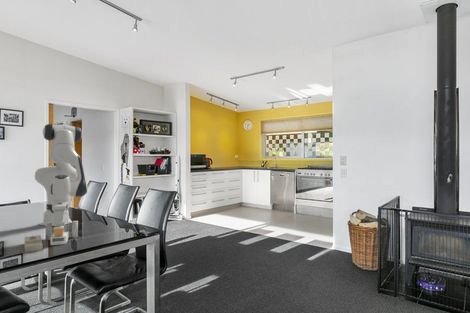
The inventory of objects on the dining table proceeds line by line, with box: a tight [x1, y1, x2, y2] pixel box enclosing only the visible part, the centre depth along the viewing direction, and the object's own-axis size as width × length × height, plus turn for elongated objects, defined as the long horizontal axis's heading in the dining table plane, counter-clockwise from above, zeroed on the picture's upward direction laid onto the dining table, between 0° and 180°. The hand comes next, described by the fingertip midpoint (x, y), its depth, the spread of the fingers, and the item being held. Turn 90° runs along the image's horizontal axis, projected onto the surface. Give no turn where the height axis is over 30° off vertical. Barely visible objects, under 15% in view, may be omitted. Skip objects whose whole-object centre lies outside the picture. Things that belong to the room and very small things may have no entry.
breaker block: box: [49, 230, 70, 246], centre depth 164 cm, size 12×7×4 cm, turn 23°
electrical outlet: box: [23, 234, 44, 253], centre depth 155 cm, size 7×4×18 cm
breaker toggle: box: [53, 225, 65, 236], centre depth 161 cm, size 2×4×4 cm, turn 113°
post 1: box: [45, 223, 53, 241], centre depth 169 cm, size 3×3×9 cm
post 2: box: [71, 220, 79, 239], centre depth 174 cm, size 3×3×9 cm
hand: (61, 229), depth 168 cm, fingers open, 8 cm apart
